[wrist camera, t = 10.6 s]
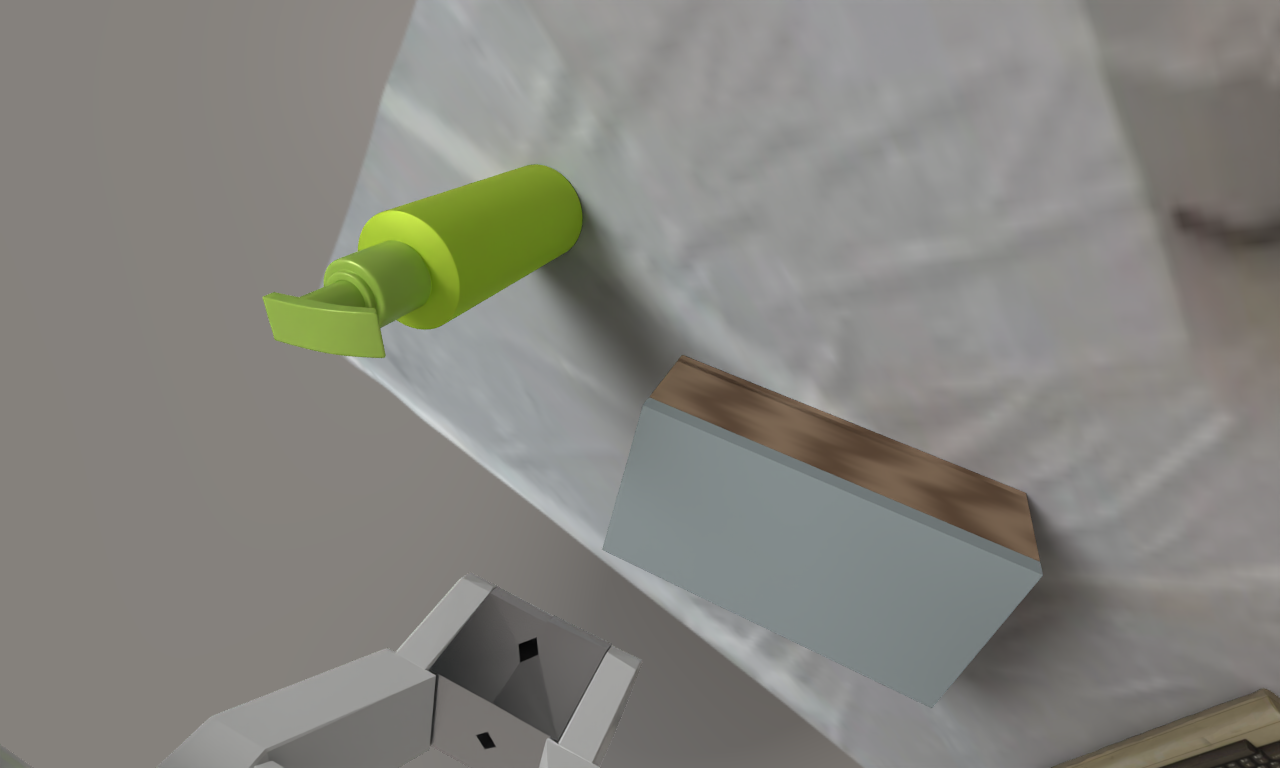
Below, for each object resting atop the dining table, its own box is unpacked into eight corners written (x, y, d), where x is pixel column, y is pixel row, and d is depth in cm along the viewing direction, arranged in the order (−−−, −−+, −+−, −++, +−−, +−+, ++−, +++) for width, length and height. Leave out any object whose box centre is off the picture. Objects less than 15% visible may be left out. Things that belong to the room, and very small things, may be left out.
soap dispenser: (599, 263, 42) (386, 409, 26) (506, 251, 44) (255, 379, 28) (596, 168, 39) (355, 264, 23) (497, 161, 41) (213, 243, 25)
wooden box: (1025, 493, 38) (1039, 560, 33) (931, 620, 45) (931, 692, 40) (682, 354, 43) (649, 396, 38) (641, 488, 49) (609, 538, 44)
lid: (1040, 562, 33) (1043, 575, 32) (931, 694, 40) (931, 708, 39) (648, 397, 38) (642, 405, 37) (608, 540, 44) (602, 549, 43)
